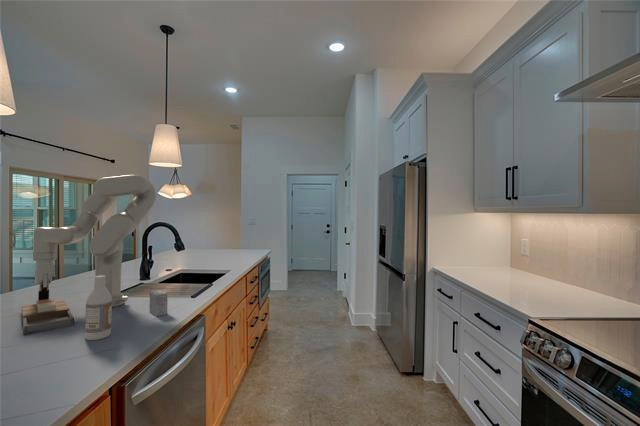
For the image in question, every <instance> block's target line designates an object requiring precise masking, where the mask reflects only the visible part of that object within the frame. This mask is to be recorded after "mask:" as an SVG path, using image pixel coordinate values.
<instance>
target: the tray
mask: <svg viewBox="0 0 640 426" xmlns="http://www.w3.org/2000/svg"><path fill="white" fill-rule="evenodd" d="M74 325H75V316H74V315H73V314H72V312H71V310H69V311H67V316H62V317H56V318H50V319H44V320H38V321H32V322H27V319H26V317H25V318H23V323H22V327H23V328H22V329H23V335H28V334H32V333H33V334H34V333H40V332H45V331H50V330H55V329H60V328H65V327H70V326H71V327H72V326H74Z"/></svg>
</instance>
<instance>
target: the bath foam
mask: <svg viewBox="0 0 640 426" xmlns="http://www.w3.org/2000/svg"><path fill="white" fill-rule="evenodd" d="M105 277H106V276H104V275H101V276H95V275H94V283H93V286H94V288H93V289H92V290H91V291H90V293H89V294H88V296H87V297H86V302H85V321H84V323H85V325H84V340H87V341H98V340H99V341H100V340H103V339H105V338H108V337H109V336H111V333H112V311H113V309H112V308H113V307H112V297H111V294H110V292H109V291H108V289H107V288H106V287H105Z"/></svg>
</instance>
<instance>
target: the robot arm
mask: <svg viewBox="0 0 640 426" xmlns="http://www.w3.org/2000/svg"><path fill="white" fill-rule="evenodd" d="M92 187H93V188H92V189H93V192H92V193H91V194H90V195H89V196H88V197H87V198H86V199H85V200H84V202H82V204H81V212H80V214H79V216H78V217H77V219H76V220H74V222H73V223H72V224H71V225H70V226H61V227H54V226H39V227H35V229H33V242H32V248H33V249H32V261H33V262H35V267H34V268H35V270H34V271H35V272H34V285H36V286H38V285H39V287H38V289H39V290H38V298H37V299H38V300H45V299H50V284H52V282H53V272H54V261H55V260H58V245H60V246H61V245H63V246H65V245H66V246H68V245H72V244H77V243H79V242H81V241H83V239H85V238H86V236H87V235H88V234H90V232H91V231H92V230H93V229H94V228H95V227H96V225H97V224H98V222H99V221H100V219H101V217H102V215H104V214H105V213H106V211H107V210H108V209H109V208H110V207H111V206H112V205H113V203H115V201H116V200H117V199H118V198H119V197H122V196H123V197H124V196H129V195H134V196H133V198H132V200H131V201H130V202H128V204H127V205H126V207H124V209H123V210H122V211H121V212H120V213H115V214H114V215H111V216H110V217H109V218H108V219H107V220H106V221H105V222H104V223H103V224H102V225H101V226H100V228H99V230H98V231H97V232H96V233H95V234H94V236H93V237H92V238H91V239H90V241H89V244H88V251H89V253H90V254H91V255H92V256H94V257H96V258H95V259H96V260H95V270H94V271H95V273H94V274H95V275H94V277H95V276H101V275H104V276H106V277H105V287H106V288H107V289H108V291H109V292H110V294H111V297H112V308H115V307H119V306H121V305H123V304H124V303H125V302H128V299H129V295H128V296H127V295H125V296H124V293H123V292H121V290H122V266H123V265H122V264H123V254H124V246H125V245H124V239H125V238H126V236H128V235H130V234H132V233H133V232H134V231H135V230H136V229H137V228H138V226H139V224H140V223H141V222H142V221H143V219H144V218H145V217H146V216H147V214H148V213H149V211H150V210H151V209H152V207H153V205H154V204H155V201H156V198H157V197H156V196H157V192H156V189H155V187H154V184H153V183H152V182H151V181H150V180H149V179H148V178H146V177H144V176H142V175H140V174H126V175H120V176H119V175H118V176H108V177H107V176H106V177H102V178H99V179H98V180H96V181H95V182H94V183H93V186H92ZM38 300H37V301H38Z"/></svg>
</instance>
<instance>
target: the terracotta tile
mask: <svg viewBox="0 0 640 426" xmlns="http://www.w3.org/2000/svg"><path fill="white" fill-rule="evenodd" d="M54 301H55V300H54V298H49V299H45V300H36V303H35V304H36V307H37V304H43V303H50V302H54Z"/></svg>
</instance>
